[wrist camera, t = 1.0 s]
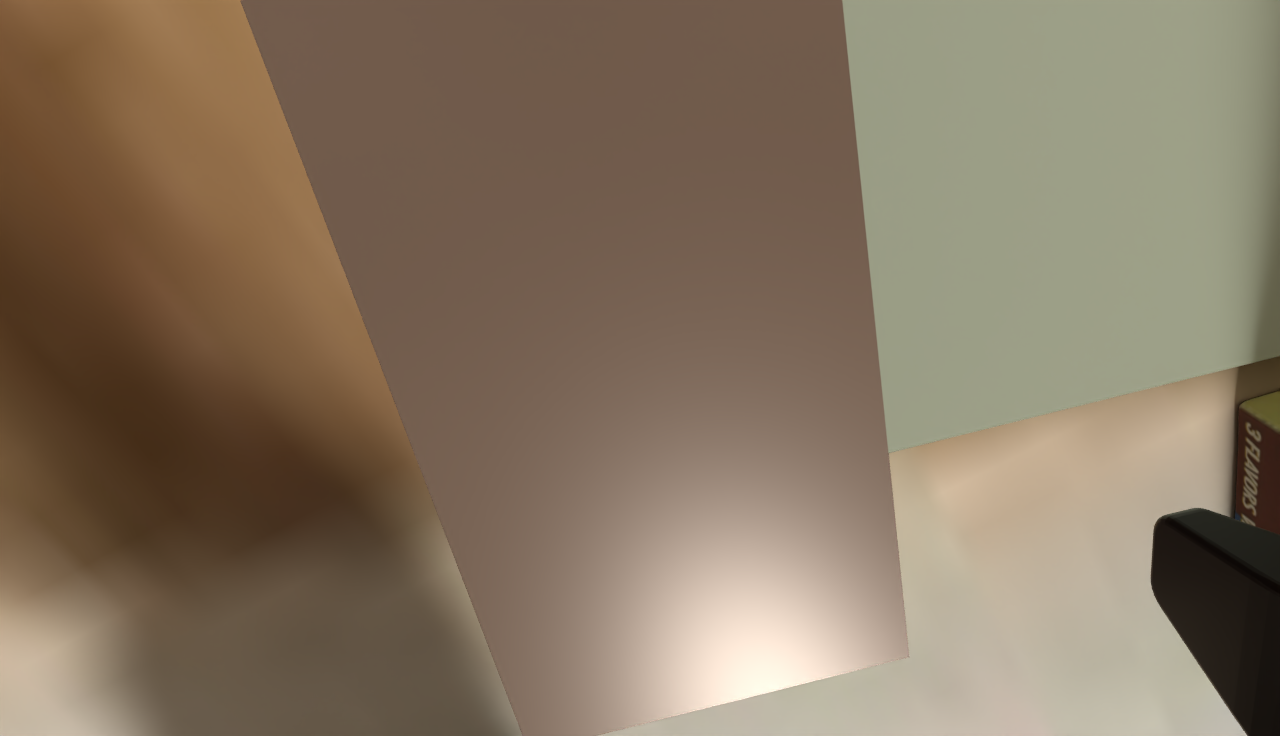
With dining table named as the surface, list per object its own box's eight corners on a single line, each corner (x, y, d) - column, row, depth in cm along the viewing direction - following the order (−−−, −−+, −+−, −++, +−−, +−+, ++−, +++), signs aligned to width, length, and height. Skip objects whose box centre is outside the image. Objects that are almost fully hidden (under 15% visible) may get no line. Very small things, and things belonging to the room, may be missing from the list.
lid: (528, 657, 19) (528, 752, 17) (288, -8, 13) (240, 0, 11) (863, 573, 19) (909, 656, 17) (776, -124, 13) (827, -140, 11)
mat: (863, 449, 22) (869, 457, 22) (769, -346, 15) (776, -353, 14) (1290, 343, 22) (1303, 350, 22) (1398, -492, 15) (1419, -504, 15)
